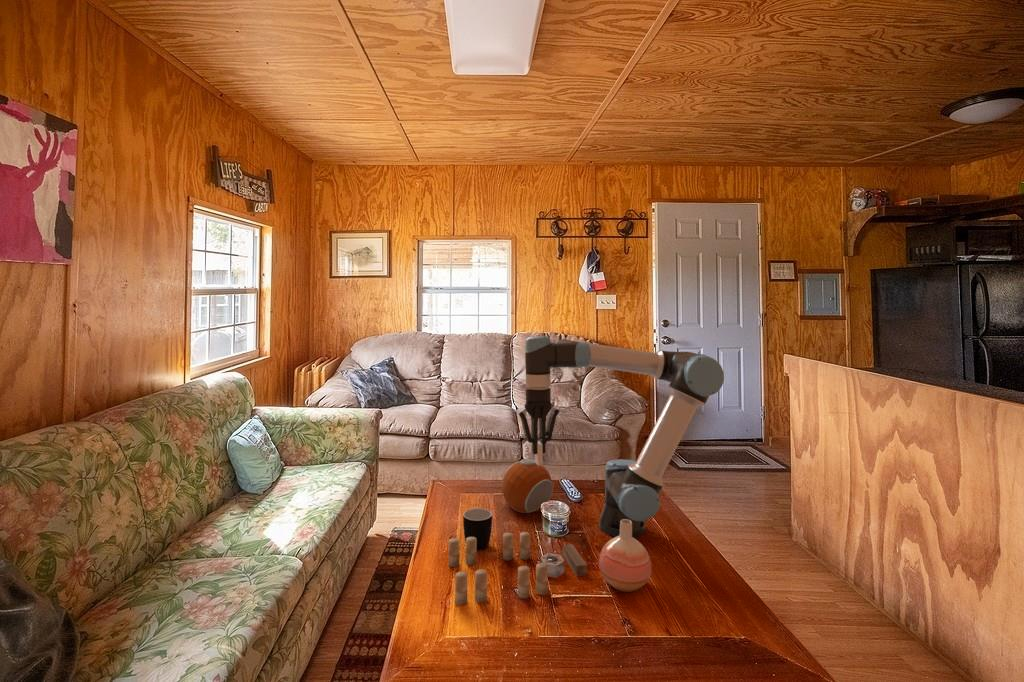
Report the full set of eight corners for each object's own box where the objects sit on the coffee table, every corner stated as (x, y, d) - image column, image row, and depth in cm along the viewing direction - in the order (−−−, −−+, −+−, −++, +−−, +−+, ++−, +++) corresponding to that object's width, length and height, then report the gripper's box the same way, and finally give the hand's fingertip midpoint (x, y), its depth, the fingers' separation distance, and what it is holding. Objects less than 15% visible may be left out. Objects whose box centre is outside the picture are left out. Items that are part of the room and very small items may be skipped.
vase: (652, 576, 133) (654, 515, 132) (649, 605, 120) (651, 537, 119) (602, 567, 137) (604, 507, 136) (594, 594, 124) (596, 528, 123)
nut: (558, 563, 139) (558, 551, 139) (566, 576, 132) (566, 564, 132) (538, 565, 138) (538, 553, 137) (545, 579, 131) (545, 566, 131)
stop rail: (571, 553, 145) (572, 544, 145) (586, 575, 133) (586, 564, 133) (562, 554, 144) (562, 545, 144) (576, 576, 132) (576, 566, 132)
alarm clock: (528, 492, 193) (529, 450, 191) (561, 506, 180) (562, 461, 179) (492, 505, 180) (492, 460, 179) (524, 521, 167) (525, 472, 166)
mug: (496, 549, 147) (496, 517, 146) (468, 555, 143) (468, 522, 142) (482, 532, 158) (482, 502, 157) (456, 537, 154) (456, 506, 153)
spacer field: (527, 553, 145) (528, 530, 144) (549, 595, 123) (549, 569, 123) (448, 561, 139) (448, 538, 139) (456, 607, 118) (456, 579, 118)
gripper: (553, 384, 150) (554, 458, 152) (513, 386, 147) (514, 462, 148) (562, 388, 143) (563, 465, 144) (521, 390, 139) (522, 470, 141)
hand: (538, 463), depth 146 cm, fingers closed
